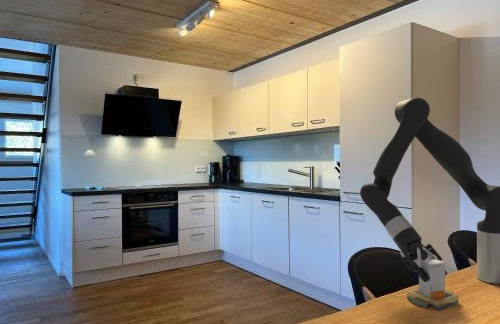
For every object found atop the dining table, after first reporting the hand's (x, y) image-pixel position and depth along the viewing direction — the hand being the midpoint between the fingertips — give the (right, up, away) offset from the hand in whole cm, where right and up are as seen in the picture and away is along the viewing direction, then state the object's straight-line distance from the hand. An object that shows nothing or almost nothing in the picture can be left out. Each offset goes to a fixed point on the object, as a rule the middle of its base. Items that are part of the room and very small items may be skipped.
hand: (436, 278), depth 108 cm
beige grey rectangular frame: (-1, -7, +1) cm, 7 cm away
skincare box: (-1, -8, +1) cm, 8 cm away
